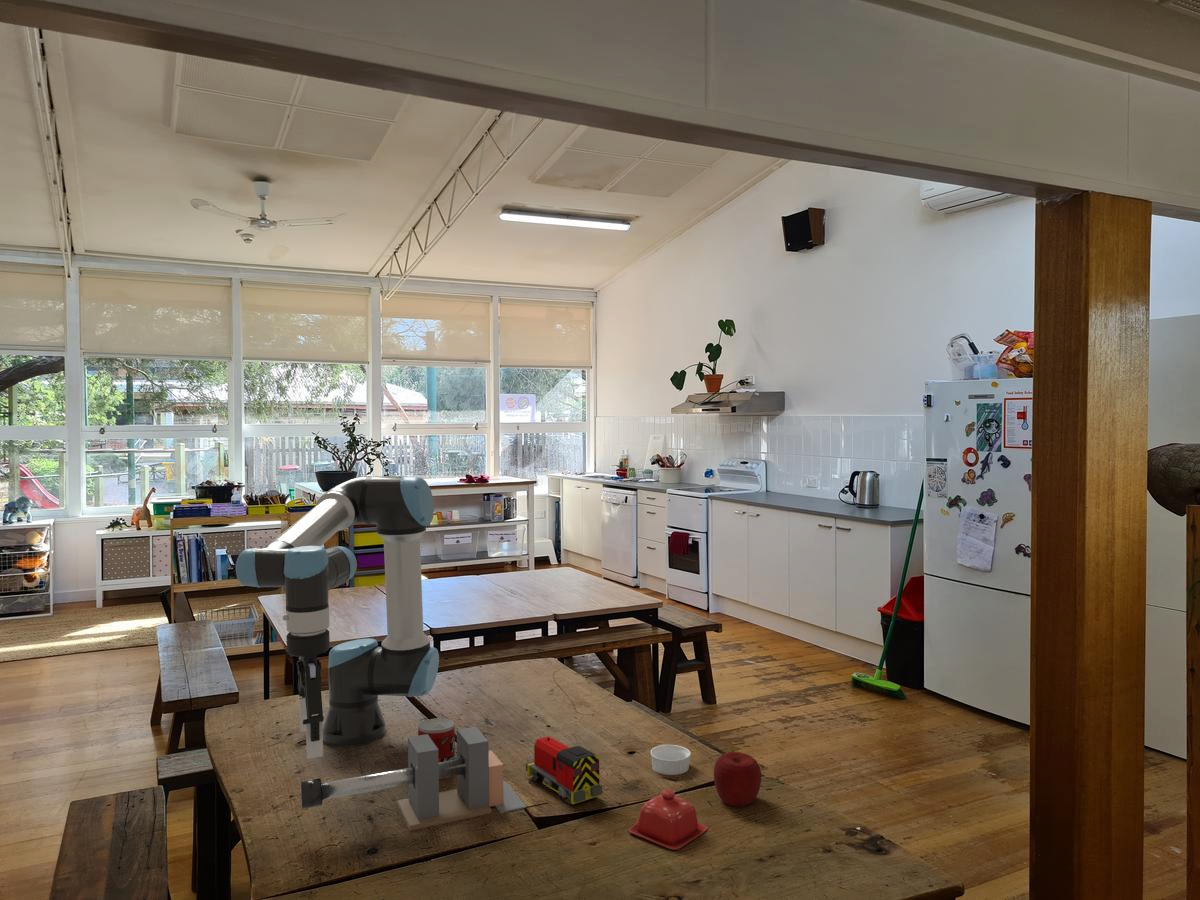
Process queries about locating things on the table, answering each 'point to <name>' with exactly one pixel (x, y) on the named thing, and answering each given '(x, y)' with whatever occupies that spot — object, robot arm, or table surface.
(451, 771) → the shaft
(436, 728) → the canned food
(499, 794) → the block
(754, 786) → the apple
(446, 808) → the bearing frame
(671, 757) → the ramekin
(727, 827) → the table surface
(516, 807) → the mat
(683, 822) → the butter dish
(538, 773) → the toy train
